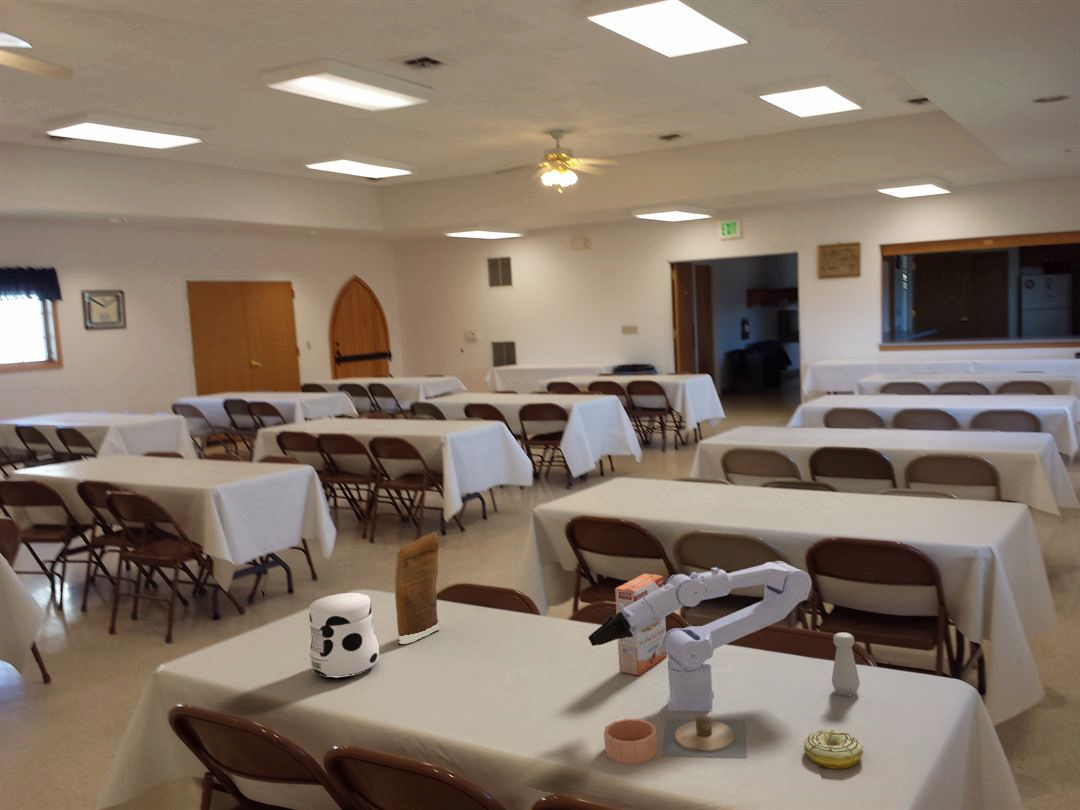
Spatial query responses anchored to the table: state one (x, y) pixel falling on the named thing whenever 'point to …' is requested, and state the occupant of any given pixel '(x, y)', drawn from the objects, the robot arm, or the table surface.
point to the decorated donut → (833, 749)
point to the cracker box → (648, 642)
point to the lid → (704, 735)
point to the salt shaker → (844, 665)
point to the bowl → (630, 740)
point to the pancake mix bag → (417, 585)
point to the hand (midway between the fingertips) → (593, 641)
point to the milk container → (342, 635)
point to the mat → (731, 751)
